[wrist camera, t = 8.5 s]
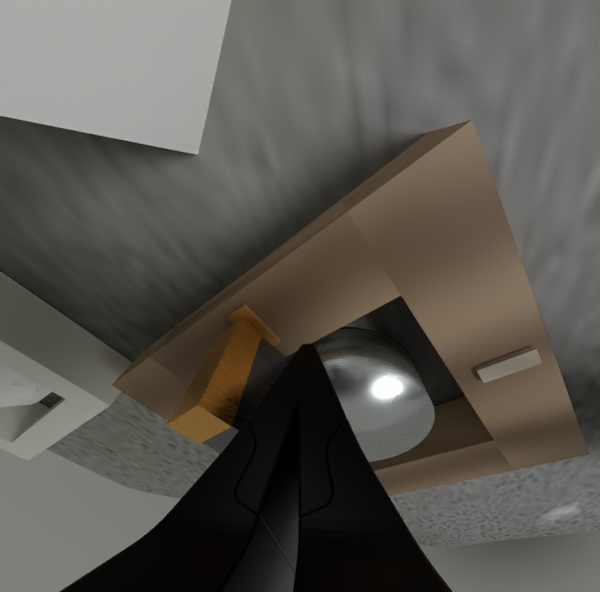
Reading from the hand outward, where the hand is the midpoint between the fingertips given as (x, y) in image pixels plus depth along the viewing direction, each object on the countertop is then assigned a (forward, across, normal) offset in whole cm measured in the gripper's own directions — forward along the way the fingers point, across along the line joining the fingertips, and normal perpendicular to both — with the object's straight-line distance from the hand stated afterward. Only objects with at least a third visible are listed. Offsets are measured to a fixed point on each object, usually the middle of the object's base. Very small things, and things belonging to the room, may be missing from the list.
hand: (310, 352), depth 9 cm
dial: (+5, 0, +5) cm, 7 cm away
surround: (+5, -1, +7) cm, 9 cm away
